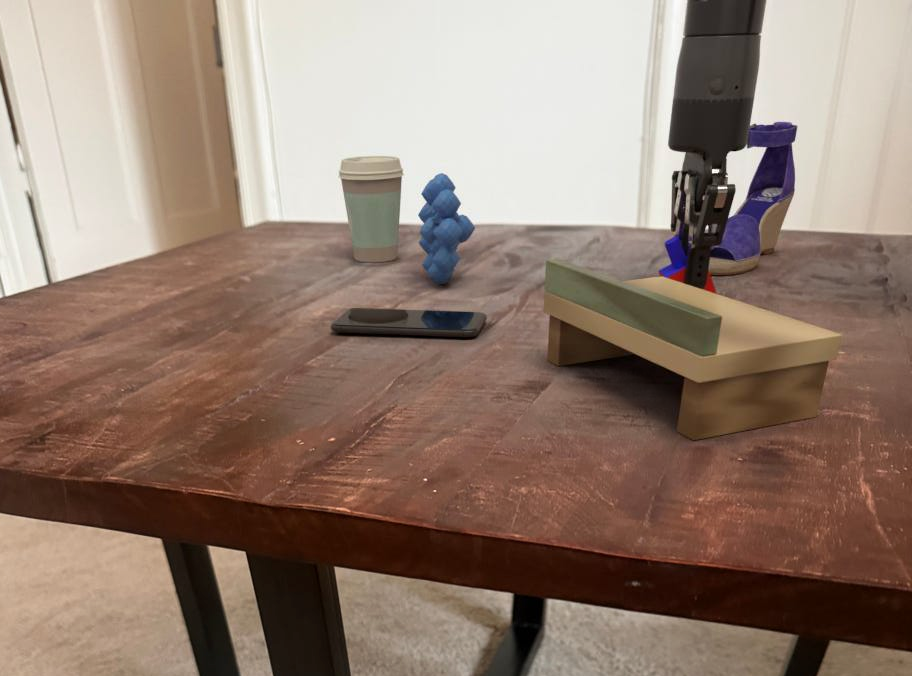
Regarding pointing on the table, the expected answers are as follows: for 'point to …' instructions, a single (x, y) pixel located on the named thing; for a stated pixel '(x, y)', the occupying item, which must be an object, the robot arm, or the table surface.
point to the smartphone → (410, 322)
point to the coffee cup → (373, 205)
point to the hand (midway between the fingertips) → (688, 282)
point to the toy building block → (680, 264)
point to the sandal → (759, 203)
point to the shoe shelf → (692, 346)
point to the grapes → (442, 228)
